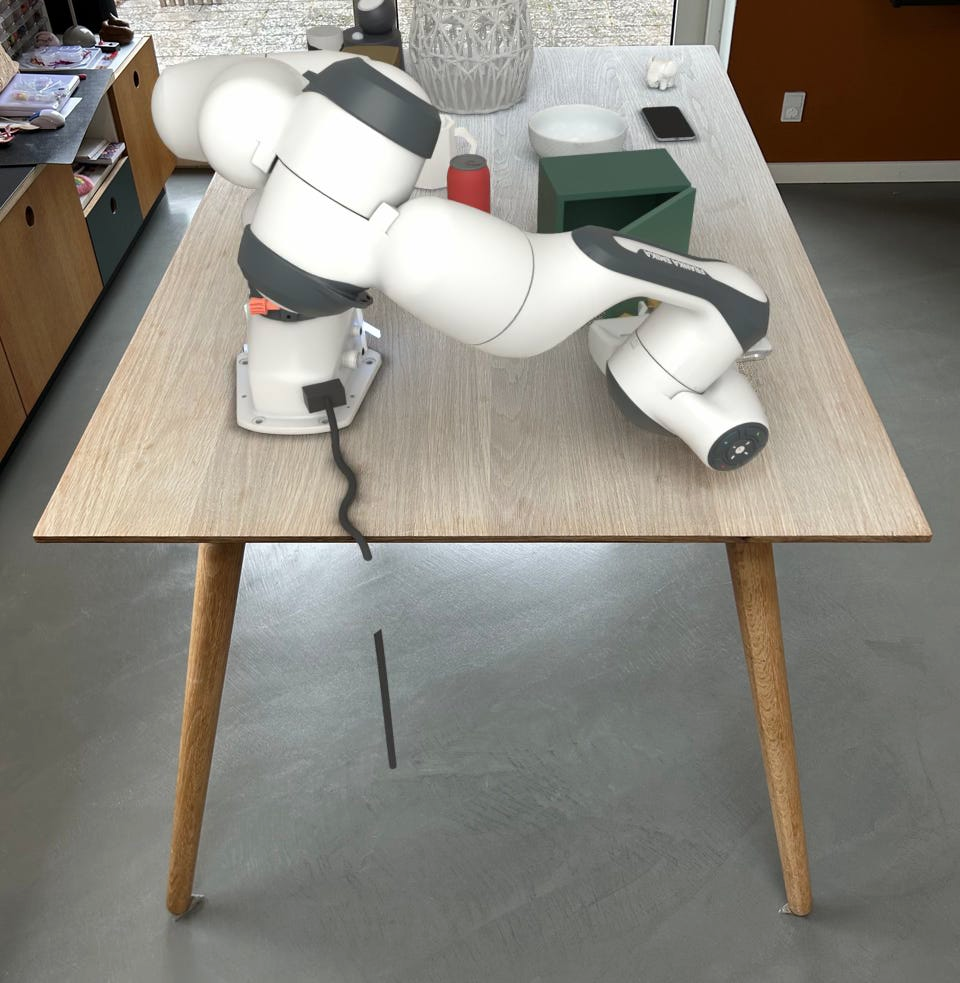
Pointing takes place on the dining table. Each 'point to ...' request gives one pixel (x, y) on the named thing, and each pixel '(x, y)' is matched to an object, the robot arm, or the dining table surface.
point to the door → (659, 239)
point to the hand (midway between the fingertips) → (656, 304)
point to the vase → (472, 88)
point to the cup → (325, 38)
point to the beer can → (469, 181)
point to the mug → (444, 154)
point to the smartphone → (668, 123)
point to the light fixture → (375, 27)
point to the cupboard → (604, 188)
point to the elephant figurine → (660, 72)
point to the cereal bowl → (576, 130)
